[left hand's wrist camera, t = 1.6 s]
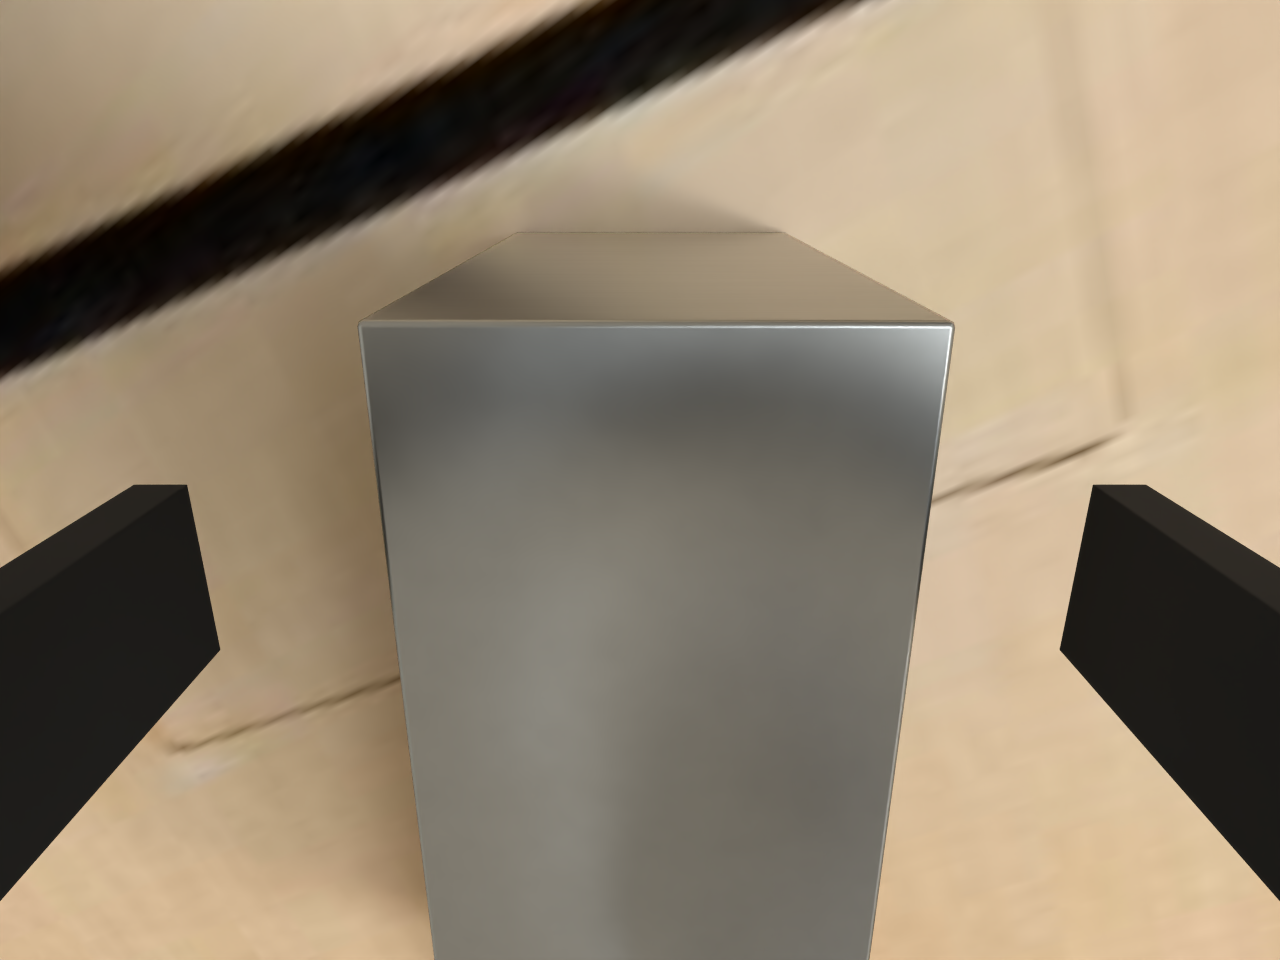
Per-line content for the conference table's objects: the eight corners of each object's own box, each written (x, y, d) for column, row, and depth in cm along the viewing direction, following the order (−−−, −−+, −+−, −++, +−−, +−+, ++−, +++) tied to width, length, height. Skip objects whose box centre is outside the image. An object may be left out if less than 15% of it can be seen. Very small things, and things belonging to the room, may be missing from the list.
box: (514, 232, 22) (354, 320, 10) (787, 232, 22) (958, 321, 10) (550, 927, 31) (489, 1419, 19) (744, 928, 31) (808, 1422, 19)
